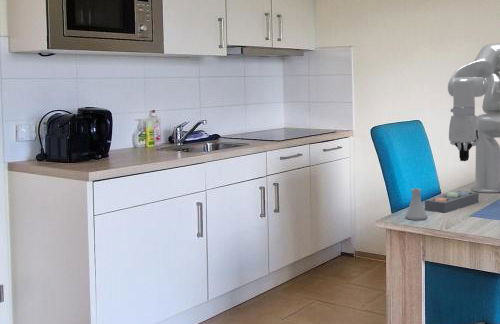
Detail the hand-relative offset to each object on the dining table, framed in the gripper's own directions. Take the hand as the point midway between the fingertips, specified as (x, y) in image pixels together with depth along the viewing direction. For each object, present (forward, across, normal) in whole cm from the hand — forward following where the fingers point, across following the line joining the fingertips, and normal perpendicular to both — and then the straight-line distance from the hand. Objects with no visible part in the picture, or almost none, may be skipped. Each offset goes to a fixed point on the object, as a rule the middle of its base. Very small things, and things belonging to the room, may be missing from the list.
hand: (464, 160), depth 232 cm
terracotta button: (+14, 0, -18) cm, 23 cm away
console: (+16, 0, -10) cm, 18 cm away
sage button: (+14, 0, -10) cm, 17 cm away
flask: (+15, +1, -35) cm, 38 cm away
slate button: (+15, 0, -2) cm, 15 cm away
